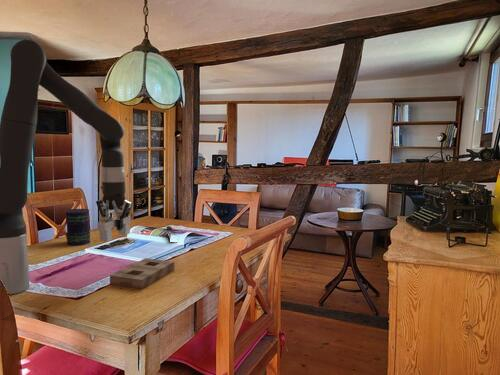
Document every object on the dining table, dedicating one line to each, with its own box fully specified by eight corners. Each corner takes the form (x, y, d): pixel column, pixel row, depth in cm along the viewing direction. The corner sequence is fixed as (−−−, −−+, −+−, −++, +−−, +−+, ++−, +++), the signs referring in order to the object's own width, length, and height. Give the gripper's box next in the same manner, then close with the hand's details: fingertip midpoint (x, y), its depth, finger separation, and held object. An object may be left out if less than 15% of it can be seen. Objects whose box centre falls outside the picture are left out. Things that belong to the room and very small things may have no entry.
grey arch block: (105, 242, 128) (105, 222, 127) (98, 241, 129) (97, 222, 128) (131, 232, 141) (130, 215, 141) (124, 232, 142) (123, 214, 142)
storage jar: (94, 243, 176) (92, 210, 174) (71, 247, 169) (70, 213, 167) (85, 239, 183) (84, 207, 181) (63, 242, 176) (61, 210, 174)
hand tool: (178, 243, 178) (178, 233, 178) (169, 243, 177) (169, 233, 177) (173, 234, 196) (173, 225, 196) (165, 234, 195) (165, 225, 195)
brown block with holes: (142, 289, 121) (142, 279, 121) (110, 284, 125) (109, 275, 125) (174, 269, 140) (174, 261, 140) (145, 266, 144) (145, 258, 144)
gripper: (88, 180, 131) (91, 230, 134) (124, 181, 127) (126, 233, 129) (103, 178, 139) (105, 226, 141) (137, 179, 134) (139, 229, 136)
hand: (115, 229), depth 135 cm, fingers closed on grey arch block, 3 cm apart
